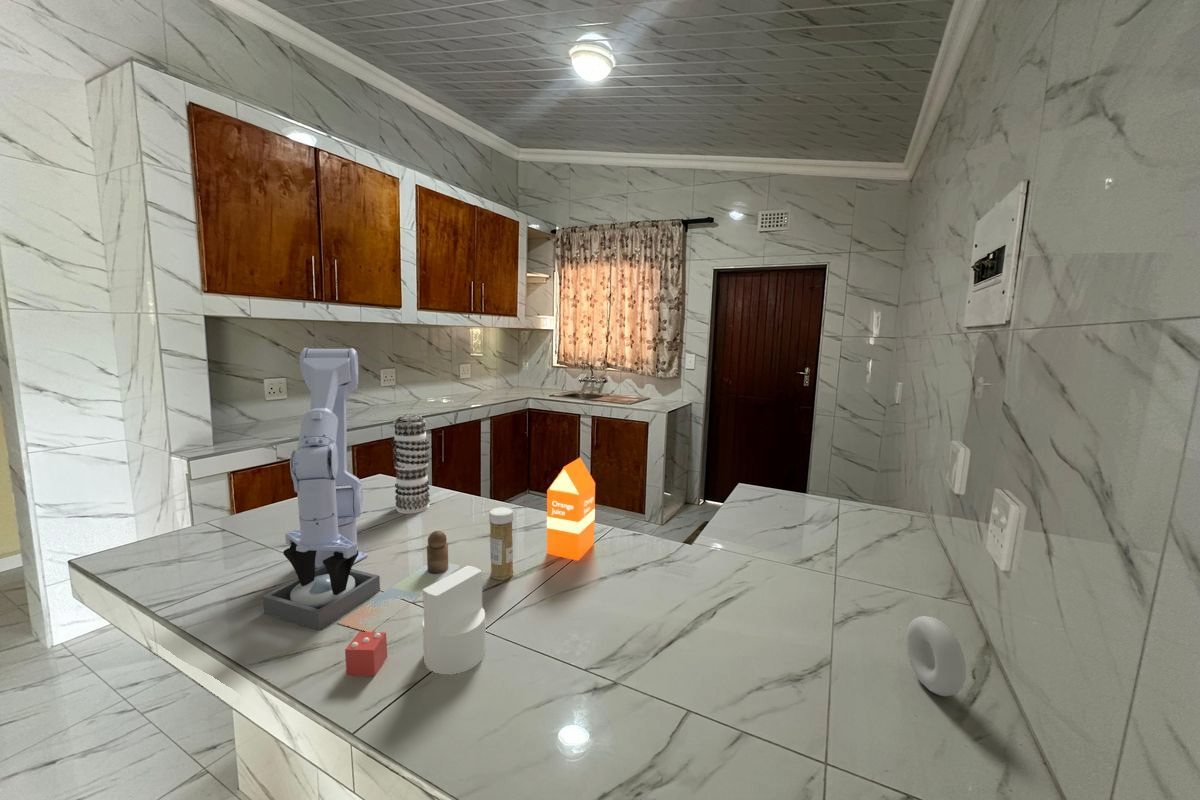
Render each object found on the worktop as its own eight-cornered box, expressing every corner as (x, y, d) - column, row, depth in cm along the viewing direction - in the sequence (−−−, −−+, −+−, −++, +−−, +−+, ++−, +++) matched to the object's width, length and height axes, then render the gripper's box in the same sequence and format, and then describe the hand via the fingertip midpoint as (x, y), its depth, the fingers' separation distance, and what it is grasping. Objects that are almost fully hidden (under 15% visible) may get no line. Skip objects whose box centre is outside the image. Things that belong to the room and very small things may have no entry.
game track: (337, 623, 81) (337, 622, 81) (433, 560, 103) (433, 559, 103) (370, 633, 79) (370, 632, 79) (461, 566, 101) (461, 565, 101)
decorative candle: (387, 512, 128) (382, 418, 125) (406, 500, 137) (403, 412, 134) (419, 515, 127) (416, 420, 123) (437, 502, 136) (434, 413, 132)
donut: (897, 662, 74) (904, 601, 73) (920, 663, 74) (928, 602, 73) (940, 714, 65) (950, 644, 63) (967, 715, 65) (977, 645, 63)
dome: (277, 608, 84) (275, 586, 84) (327, 580, 94) (326, 561, 93) (320, 621, 81) (319, 599, 80) (368, 591, 90) (367, 571, 90)
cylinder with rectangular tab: (452, 683, 68) (450, 603, 66) (410, 659, 73) (407, 584, 71) (498, 648, 76) (497, 575, 74) (457, 628, 81) (455, 559, 79)
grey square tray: (263, 612, 84) (262, 596, 83) (328, 577, 96) (327, 562, 95) (319, 630, 79) (318, 613, 79) (380, 590, 91) (379, 575, 91)
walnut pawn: (423, 571, 98) (421, 533, 97) (436, 562, 102) (435, 526, 101) (439, 575, 97) (438, 537, 96) (452, 566, 101) (451, 529, 99)
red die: (346, 675, 69) (344, 646, 69) (360, 656, 73) (358, 629, 73) (374, 676, 69) (373, 647, 69) (387, 657, 73) (385, 629, 73)
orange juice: (546, 553, 107) (546, 465, 104) (564, 538, 115) (565, 455, 112) (578, 560, 104) (580, 469, 101) (594, 544, 113) (596, 459, 109)
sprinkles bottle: (517, 577, 97) (516, 512, 95) (495, 583, 95) (494, 516, 93) (508, 567, 101) (507, 504, 99) (486, 573, 98) (485, 509, 96)
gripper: (266, 516, 84) (272, 590, 86) (330, 529, 79) (335, 608, 81) (303, 502, 90) (308, 571, 92) (364, 514, 85) (368, 587, 87)
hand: (323, 587), depth 87 cm, fingers open, 7 cm apart
